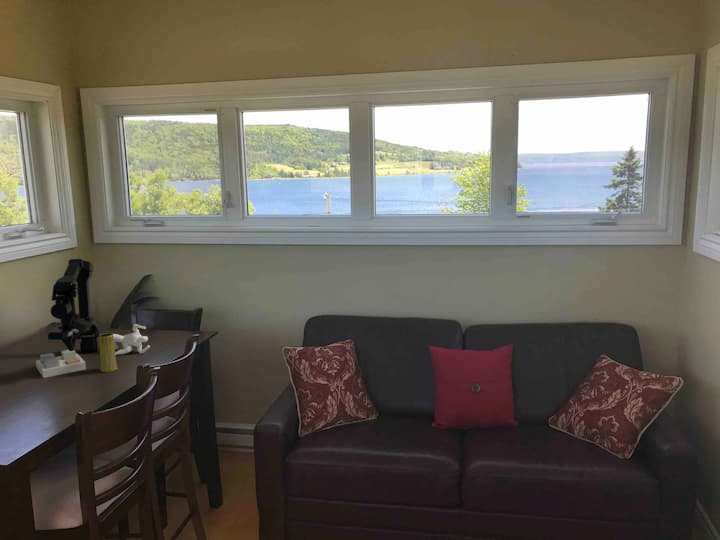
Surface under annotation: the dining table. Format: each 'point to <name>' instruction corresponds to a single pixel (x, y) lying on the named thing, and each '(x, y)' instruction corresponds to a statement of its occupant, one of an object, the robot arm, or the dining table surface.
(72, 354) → the key sage
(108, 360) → the vase
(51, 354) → the key slate
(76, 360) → the key terracotta
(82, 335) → the robot arm
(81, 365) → the keypad
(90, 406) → the dining table surface
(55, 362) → the key grey
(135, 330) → the person figurine
